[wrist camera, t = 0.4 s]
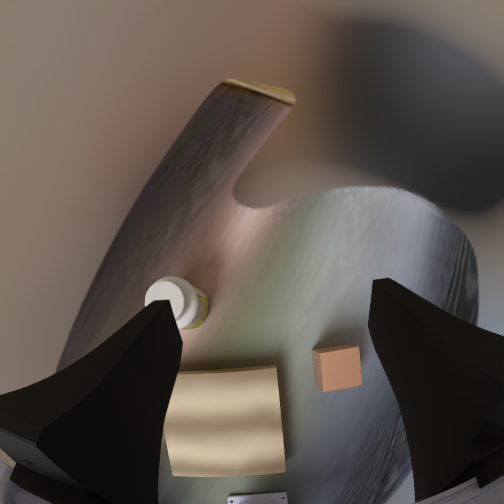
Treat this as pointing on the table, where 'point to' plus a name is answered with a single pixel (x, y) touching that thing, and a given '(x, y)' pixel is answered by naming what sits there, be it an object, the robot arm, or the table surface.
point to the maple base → (225, 423)
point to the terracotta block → (337, 367)
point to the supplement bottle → (181, 300)
